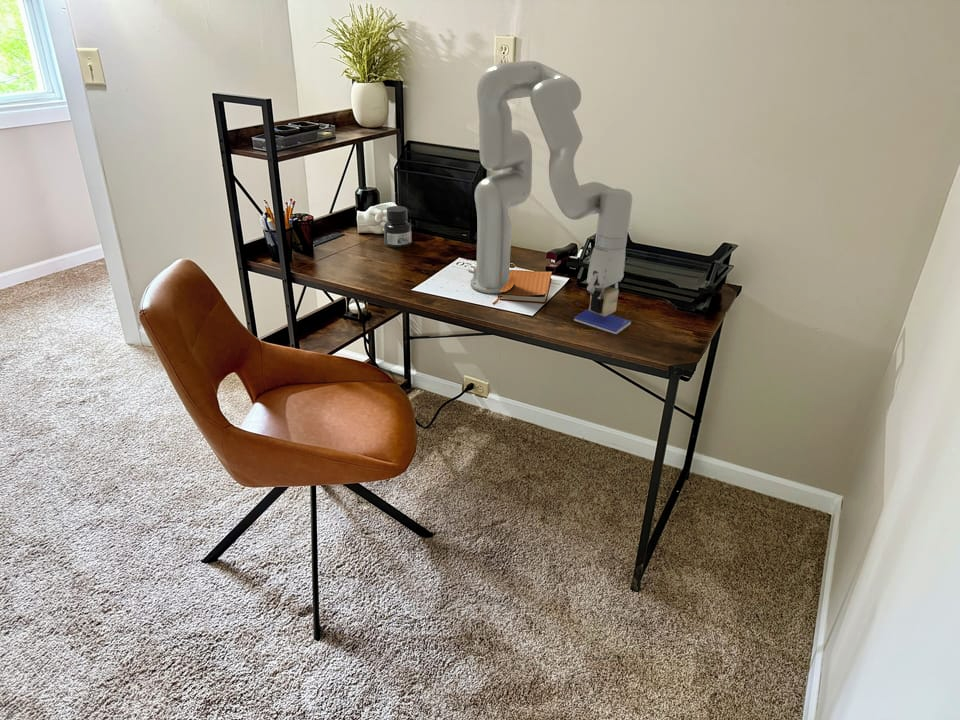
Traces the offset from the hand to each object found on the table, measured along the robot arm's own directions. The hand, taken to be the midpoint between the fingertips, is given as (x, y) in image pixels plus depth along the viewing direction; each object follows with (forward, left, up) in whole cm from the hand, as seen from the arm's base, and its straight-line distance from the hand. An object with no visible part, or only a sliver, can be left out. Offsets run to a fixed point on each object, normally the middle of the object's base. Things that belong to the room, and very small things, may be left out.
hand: (602, 307), depth 173 cm
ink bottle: (-82, 0, -4) cm, 82 cm away
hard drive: (0, +1, -5) cm, 5 cm away
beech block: (0, 0, -1) cm, 1 cm away
